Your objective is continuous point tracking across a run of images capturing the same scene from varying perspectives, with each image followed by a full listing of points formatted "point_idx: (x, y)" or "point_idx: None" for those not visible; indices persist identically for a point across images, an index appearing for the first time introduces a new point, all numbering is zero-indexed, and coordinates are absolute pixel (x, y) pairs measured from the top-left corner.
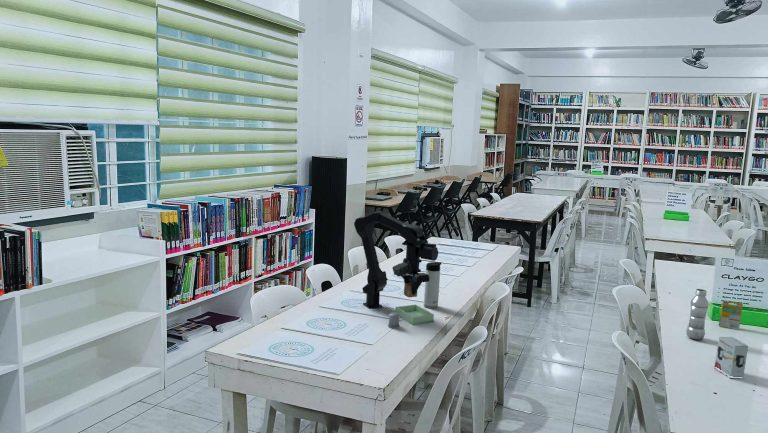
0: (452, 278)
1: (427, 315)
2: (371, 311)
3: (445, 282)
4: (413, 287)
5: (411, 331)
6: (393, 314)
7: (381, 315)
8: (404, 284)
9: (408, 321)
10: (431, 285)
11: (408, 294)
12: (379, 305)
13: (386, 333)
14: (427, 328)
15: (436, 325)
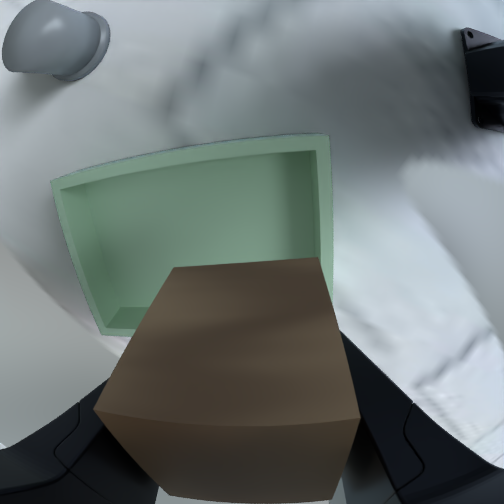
0: (487, 460)
1: (84, 294)
2: (407, 6)
3: (486, 450)
4: (73, 415)
5: (9, 133)
6: (25, 28)
7: (308, 20)
8: (350, 389)
9: (118, 160)
10: (344, 501)
11: (172, 288)
12: (483, 110)
13: (21, 8)
14: (34, 231)
15: (69, 293)
